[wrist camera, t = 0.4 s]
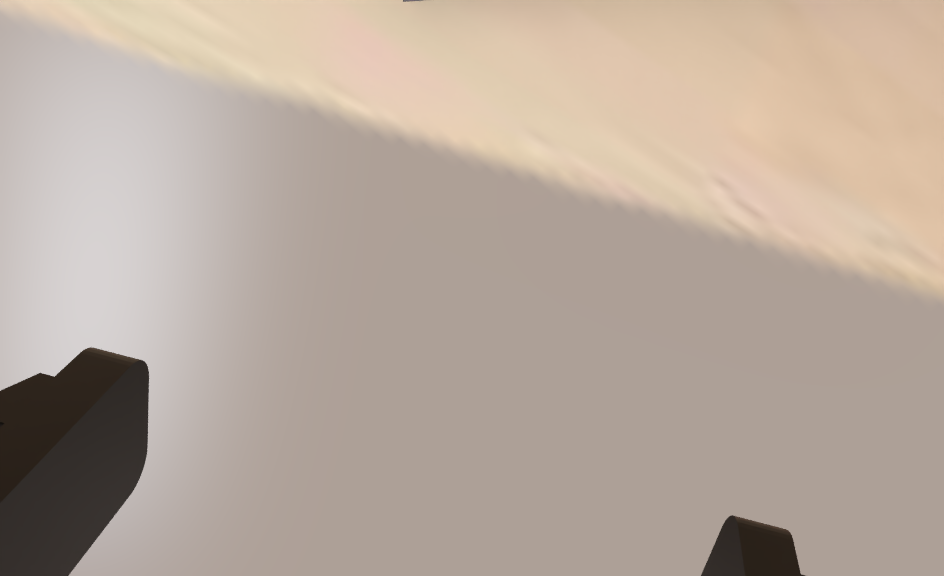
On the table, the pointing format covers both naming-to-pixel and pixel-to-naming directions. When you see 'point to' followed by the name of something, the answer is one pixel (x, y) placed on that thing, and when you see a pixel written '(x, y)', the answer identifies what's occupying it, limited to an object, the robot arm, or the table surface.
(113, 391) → the robot arm
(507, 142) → the table surface
